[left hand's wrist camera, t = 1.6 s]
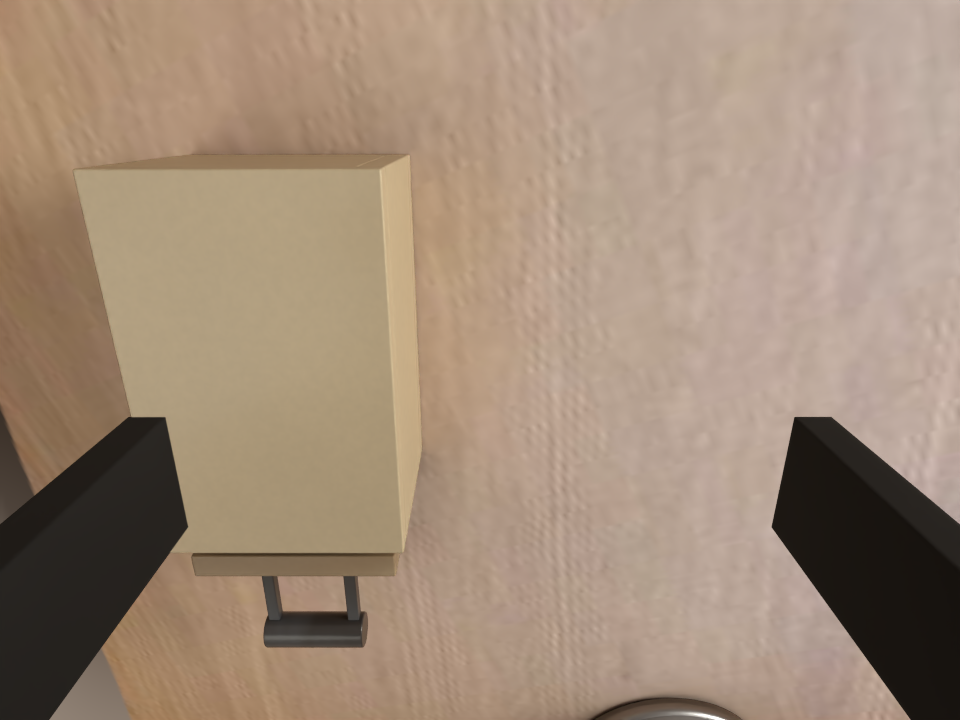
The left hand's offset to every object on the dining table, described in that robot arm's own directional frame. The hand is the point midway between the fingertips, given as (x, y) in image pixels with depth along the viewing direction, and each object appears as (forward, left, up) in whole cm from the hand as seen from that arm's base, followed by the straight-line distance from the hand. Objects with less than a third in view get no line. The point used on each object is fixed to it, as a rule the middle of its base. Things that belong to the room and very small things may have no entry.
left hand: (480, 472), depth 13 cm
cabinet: (+3, -9, -20) cm, 22 cm away
